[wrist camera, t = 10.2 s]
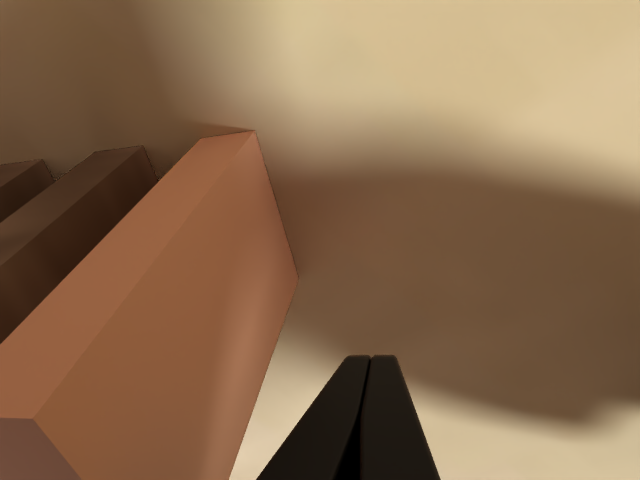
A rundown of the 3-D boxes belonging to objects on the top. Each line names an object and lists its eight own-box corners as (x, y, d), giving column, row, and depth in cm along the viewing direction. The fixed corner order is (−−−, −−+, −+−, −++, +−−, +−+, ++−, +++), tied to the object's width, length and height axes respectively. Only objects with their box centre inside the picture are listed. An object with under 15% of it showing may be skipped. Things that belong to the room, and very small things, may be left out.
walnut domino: (142, 145, 14) (-172, 412, 7) (200, 283, 17) (20, 583, 9) (95, 151, 14) (-250, 408, 7) (158, 285, 17) (-46, 574, 10)
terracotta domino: (254, 129, 13) (32, 419, 6) (298, 278, 16) (184, 607, 8) (200, 138, 14) (-70, 416, 6) (252, 281, 16) (105, 595, 9)
